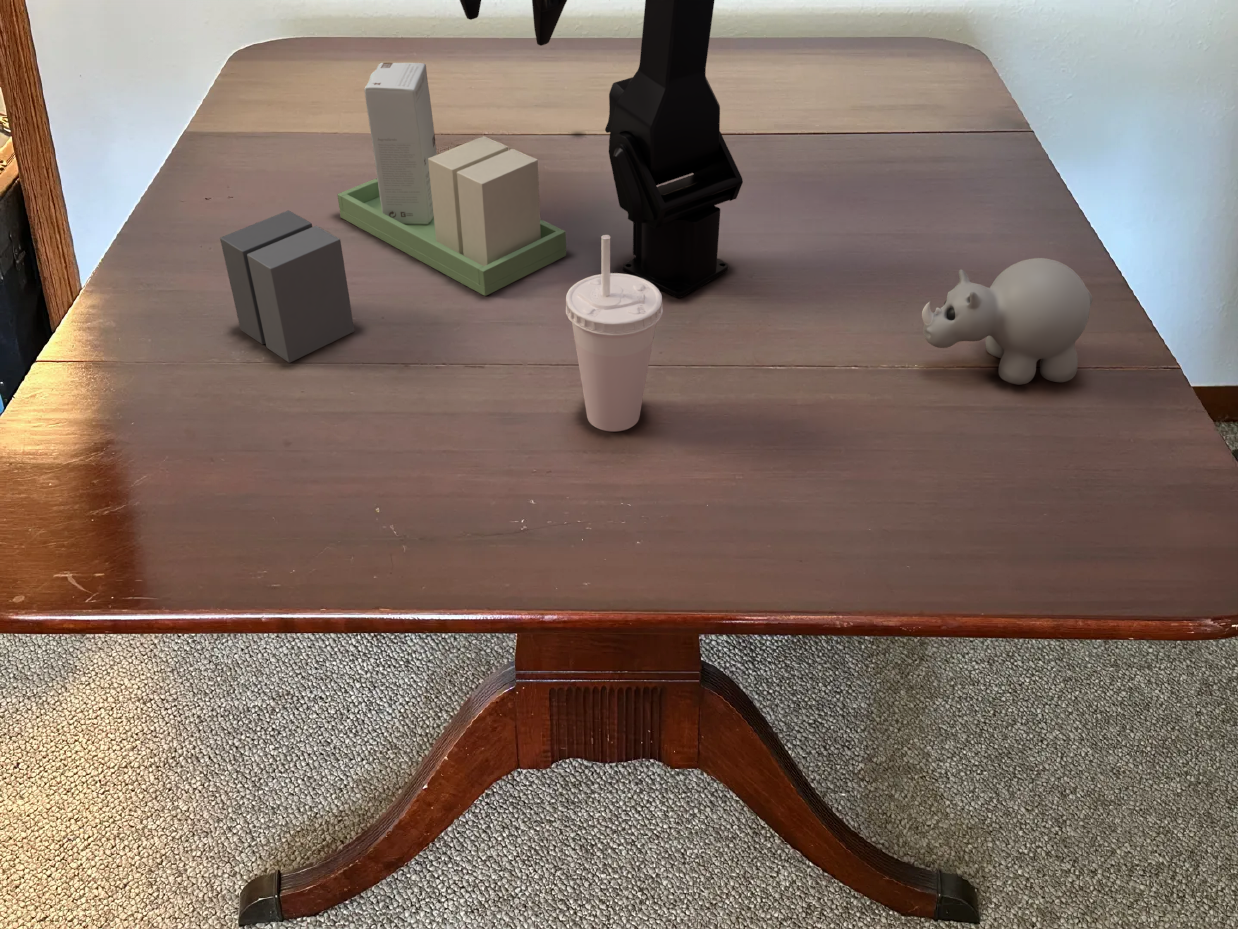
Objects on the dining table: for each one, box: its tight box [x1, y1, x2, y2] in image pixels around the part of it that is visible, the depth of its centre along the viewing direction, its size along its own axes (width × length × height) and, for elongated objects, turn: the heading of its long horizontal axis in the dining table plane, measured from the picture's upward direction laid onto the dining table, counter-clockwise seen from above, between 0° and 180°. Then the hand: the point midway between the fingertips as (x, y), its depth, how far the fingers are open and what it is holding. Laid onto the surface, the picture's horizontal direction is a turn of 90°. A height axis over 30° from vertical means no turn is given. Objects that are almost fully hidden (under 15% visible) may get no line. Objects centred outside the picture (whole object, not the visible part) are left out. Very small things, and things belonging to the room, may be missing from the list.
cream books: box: [428, 135, 541, 266], centre depth 99 cm, size 6×6×8 cm
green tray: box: [337, 177, 567, 297], centre depth 104 cm, size 19×9×2 cm, turn 47°
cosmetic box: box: [363, 62, 438, 224], centre depth 103 cm, size 6×4×12 cm
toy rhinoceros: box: [921, 257, 1093, 385], centre depth 87 cm, size 7×12×8 cm, turn 92°
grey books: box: [219, 209, 355, 364], centre depth 91 cm, size 6×6×8 cm
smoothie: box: [565, 234, 664, 432], centre depth 81 cm, size 6×6×14 cm
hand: (507, 30), depth 107 cm, fingers open, 9 cm apart
